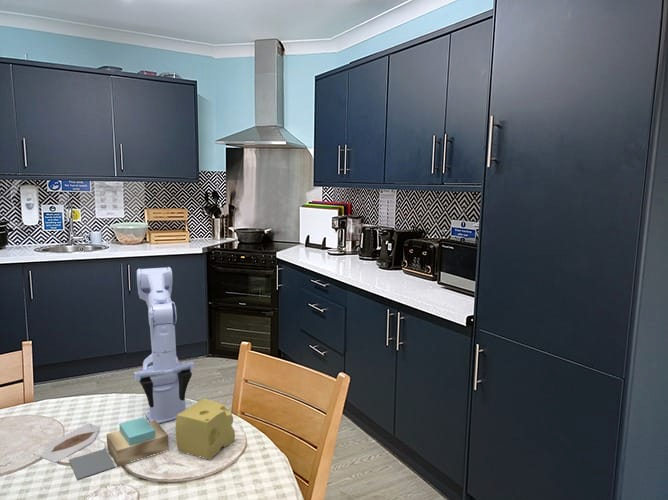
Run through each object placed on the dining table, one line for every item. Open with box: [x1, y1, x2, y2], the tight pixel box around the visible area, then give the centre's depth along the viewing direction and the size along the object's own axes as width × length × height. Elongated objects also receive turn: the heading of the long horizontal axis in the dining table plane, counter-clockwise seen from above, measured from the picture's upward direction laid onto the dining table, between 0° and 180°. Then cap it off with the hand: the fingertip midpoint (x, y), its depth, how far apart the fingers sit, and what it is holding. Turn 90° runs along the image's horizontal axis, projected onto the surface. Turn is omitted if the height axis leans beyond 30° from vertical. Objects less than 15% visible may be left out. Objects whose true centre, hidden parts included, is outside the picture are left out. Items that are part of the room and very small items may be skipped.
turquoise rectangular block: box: [118, 416, 155, 446], centre depth 119 cm, size 6×9×2 cm, turn 38°
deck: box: [106, 420, 170, 468], centre depth 119 cm, size 12×10×4 cm
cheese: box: [175, 398, 236, 460], centre depth 120 cm, size 10×11×10 cm
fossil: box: [38, 422, 101, 464], centre depth 123 cm, size 16×1×10 cm
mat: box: [68, 448, 116, 481], centre depth 113 cm, size 8×10×1 cm
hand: (166, 402), depth 122 cm, fingers open, 7 cm apart
